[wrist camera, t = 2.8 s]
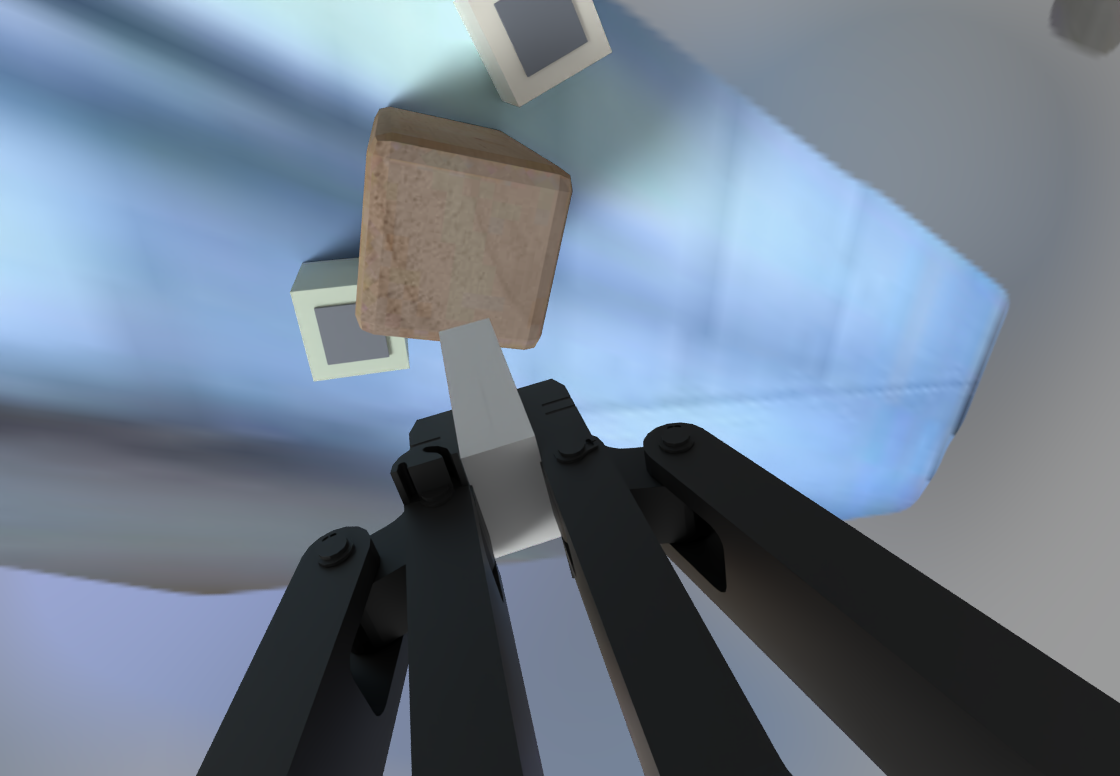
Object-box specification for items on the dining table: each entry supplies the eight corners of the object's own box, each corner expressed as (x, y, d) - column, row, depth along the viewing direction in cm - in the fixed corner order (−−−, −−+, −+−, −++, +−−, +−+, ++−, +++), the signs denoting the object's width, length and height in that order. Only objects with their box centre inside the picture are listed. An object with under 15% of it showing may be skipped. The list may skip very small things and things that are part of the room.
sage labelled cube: (302, 262, 47) (289, 293, 41) (393, 253, 48) (394, 282, 42) (322, 343, 50) (313, 383, 44) (407, 332, 52) (409, 370, 45)
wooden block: (510, 132, 46) (582, 173, 29) (489, 257, 50) (541, 358, 33) (375, 102, 43) (367, 129, 26) (365, 239, 47) (352, 340, 30)
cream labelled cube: (452, 1, 41) (464, -9, 35) (540, -51, 41) (566, -71, 35) (502, 101, 45) (520, 107, 39) (582, 53, 45) (613, 52, 39)
